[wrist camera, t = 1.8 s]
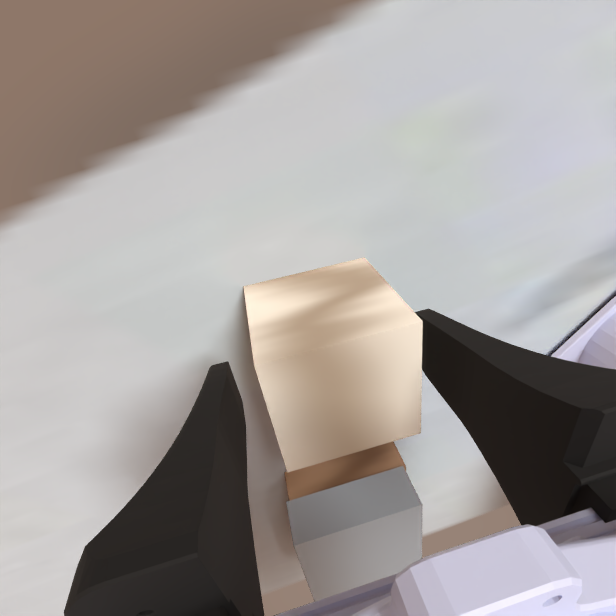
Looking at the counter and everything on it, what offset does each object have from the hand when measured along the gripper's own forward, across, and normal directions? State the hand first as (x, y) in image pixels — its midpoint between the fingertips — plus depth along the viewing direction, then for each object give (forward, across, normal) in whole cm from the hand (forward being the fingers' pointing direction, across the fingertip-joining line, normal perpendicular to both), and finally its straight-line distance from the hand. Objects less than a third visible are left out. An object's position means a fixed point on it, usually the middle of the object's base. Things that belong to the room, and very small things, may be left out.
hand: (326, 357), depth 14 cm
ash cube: (+2, 0, 0) cm, 3 cm away
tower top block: (+1, 0, +13) cm, 13 cm away
